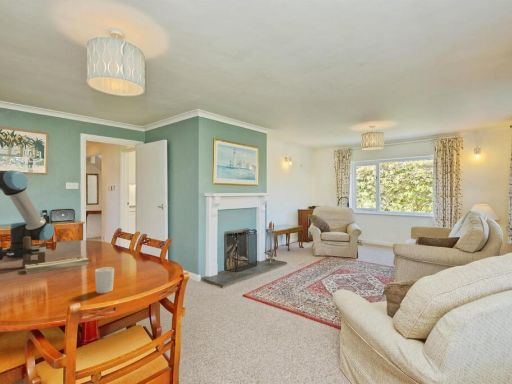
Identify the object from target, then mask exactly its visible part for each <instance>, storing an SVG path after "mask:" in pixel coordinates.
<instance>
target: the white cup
mask: <svg viewBox="0 0 512 384" xmlns="http://www.w3.org/2000/svg"><path fill="white" fill-rule="evenodd" d="M94 279H95V280H94V281H95V289H96V290H95V291H96V293H97V294H107V293H110V292H112V291H114V290H113V289H114V280H115V267H111V266H105V267H104V266H103V267H99V268H96V269H95V270H94Z"/></svg>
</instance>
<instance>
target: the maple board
mask: <svg viewBox="0 0 512 384" xmlns="http://www.w3.org/2000/svg"><path fill="white" fill-rule="evenodd" d="M89 264H90V259H89V258H87V257H86V256H77V257H72V258H65V259H57V260H50V261H45V262H42V263H35V264H28V265H25V268H24V272H25V273H26V274H27V275H29V274H34V273H35V274H36V273H42V272H47V271H48V272H49V271H55V270H60V269H61V270H62V269H67V268H73V267H80V266H87V265H89Z"/></svg>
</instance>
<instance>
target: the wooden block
mask: <svg viewBox="0 0 512 384" xmlns="http://www.w3.org/2000/svg"><path fill="white" fill-rule="evenodd" d="M38 246H39V247H38V248H40V247H46V241H43V243H42V244H40V245H38ZM23 249H31V237H23ZM36 255H37V259H31V258H32V256H36ZM42 262H46V252H38V253H32V255H31V254H26V255H23V257H22V262H21V268H22V269H25V265H28V264H35V263H42Z"/></svg>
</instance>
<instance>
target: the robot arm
mask: <svg viewBox="0 0 512 384" xmlns="http://www.w3.org/2000/svg"><path fill="white" fill-rule="evenodd" d="M28 182H29V180H28V177H27V175H26V174H24V173H23V172H21V171H19V170H0V190H1V191H2V192H3V194H4V195H5V196H8V197H9V198H10V200H11V202H12V203H13V204H14V206H15V207H16V210H17V212H19V214H20V216H21V218H22V220H24V221H20V222H15V223H11V224H10V233H9V234H10V245H9V248H6V249H4V248H3V246H0V261H3V260H4V257H7V258H21V257H22V258H23V255H26V254H31V256H33V255H32V253H38V252H45V253H46V252H47V247H46V246H45V247H40V248H38V247H39V246H40V245H36V246H35V245H33V241H36V242H40V241H41V242H45V241H49V240H50V239H52V238H53V235H54V234H55V226H54V225H53V224H52V223H48V222H47V220H46V219H45V218H44V217H43V218H42V217H41V215H40V213H39V212H38V210H37V208H36V206H35V205H34V203H33V200H31V197H30V195H28V192H27V191H26V190H27V188H28V184H29V183H28ZM23 237H31V249H23Z"/></svg>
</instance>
